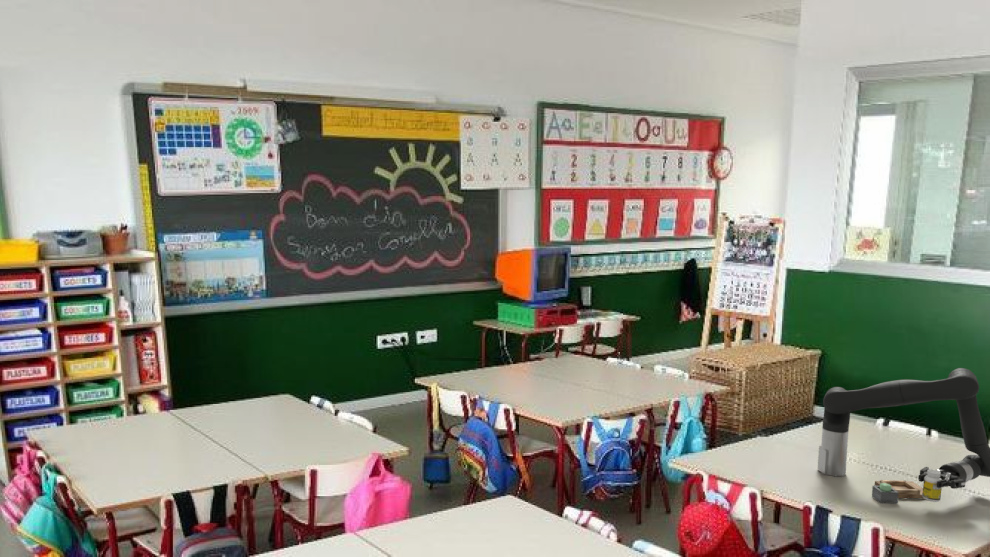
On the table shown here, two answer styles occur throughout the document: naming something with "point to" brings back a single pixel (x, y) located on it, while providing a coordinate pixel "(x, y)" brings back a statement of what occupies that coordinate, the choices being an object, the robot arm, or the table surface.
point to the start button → (885, 487)
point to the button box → (885, 495)
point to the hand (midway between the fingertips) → (928, 481)
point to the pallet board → (904, 488)
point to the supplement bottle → (932, 486)
